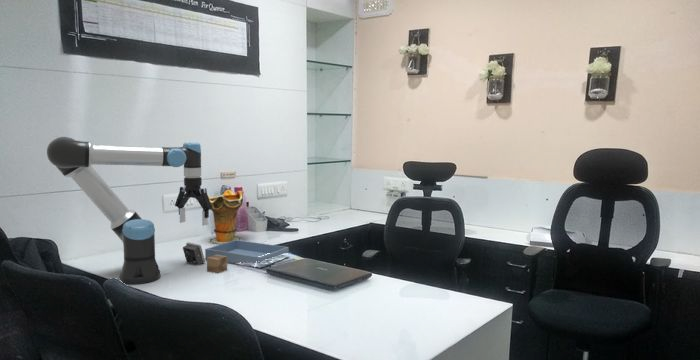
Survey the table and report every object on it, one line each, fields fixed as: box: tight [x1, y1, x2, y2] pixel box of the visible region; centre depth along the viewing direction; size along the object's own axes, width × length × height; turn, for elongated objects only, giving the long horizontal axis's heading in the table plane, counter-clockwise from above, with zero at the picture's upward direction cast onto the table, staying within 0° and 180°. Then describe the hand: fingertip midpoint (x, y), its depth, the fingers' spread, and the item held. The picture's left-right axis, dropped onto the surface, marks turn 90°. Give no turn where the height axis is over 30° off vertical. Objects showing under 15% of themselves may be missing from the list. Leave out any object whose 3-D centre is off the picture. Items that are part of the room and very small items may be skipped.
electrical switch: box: [182, 242, 206, 266], centre depth 221 cm, size 9×5×9 cm, turn 57°
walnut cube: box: [206, 255, 228, 274], centre depth 210 cm, size 6×6×6 cm
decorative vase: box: [207, 189, 245, 245], centre depth 265 cm, size 21×23×28 cm
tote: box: [204, 240, 290, 265], centre depth 230 cm, size 22×32×5 cm
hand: (193, 223), depth 220 cm, fingers open, 13 cm apart
